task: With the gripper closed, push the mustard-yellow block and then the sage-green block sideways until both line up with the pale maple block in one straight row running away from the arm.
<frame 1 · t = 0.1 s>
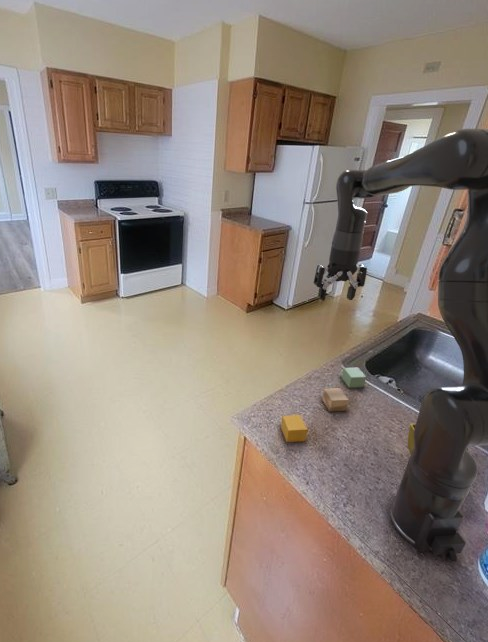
hand: (335, 299, 95), 29 cm above the worktop, tool pointing down, fingers open, 8 cm apart
flower pot: (427, 467, 77), on the worktop
sage block: (352, 382, 105), on the worktop
mustard block: (292, 433, 85), on the worktop
maple block: (333, 404, 95), on the worktop
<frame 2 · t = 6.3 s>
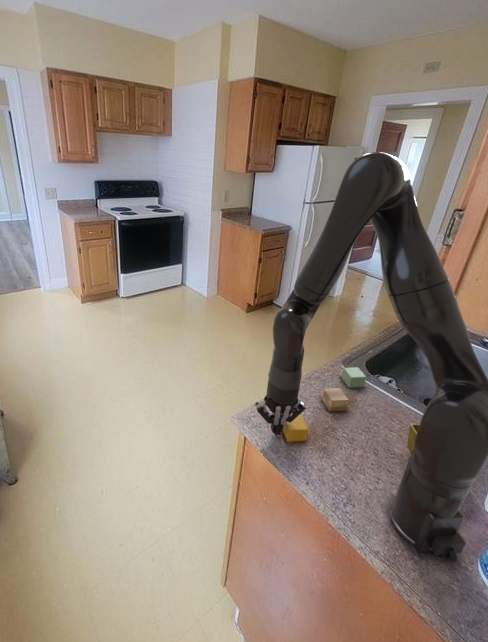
hand: (276, 432, 84), 1 cm above the worktop, tool pointing down, fingers closed
mustard block: (293, 433, 85), on the worktop, touching gripper
everything else where it was.
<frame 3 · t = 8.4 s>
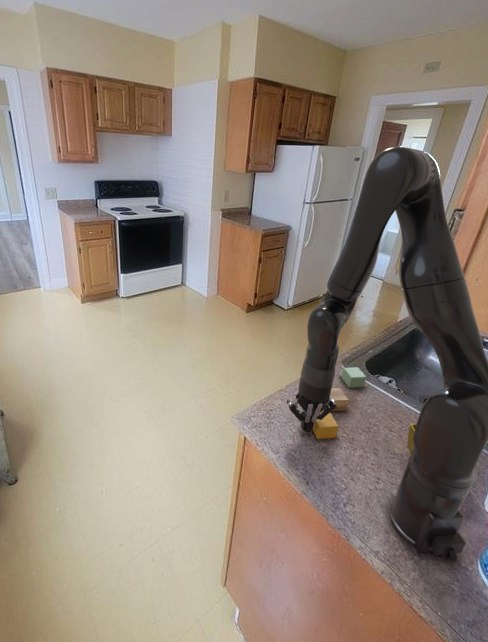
hand: (306, 429, 85), 1 cm above the worktop, tool pointing down, fingers closed
mustard block: (322, 430, 86), on the worktop, touching gripper
everything else where it was.
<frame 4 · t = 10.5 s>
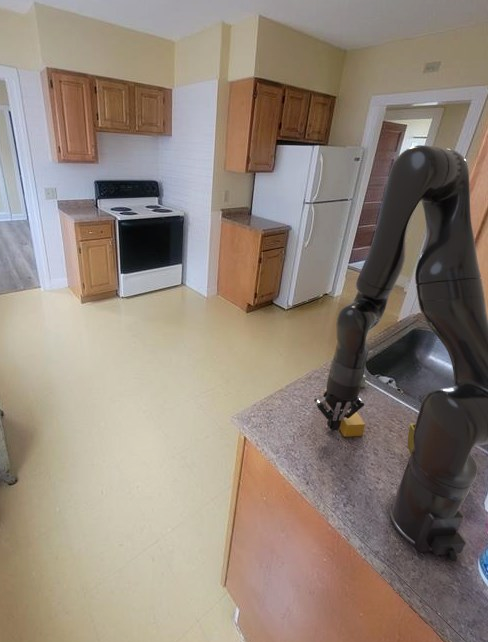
hand: (332, 428, 86), 1 cm above the worktop, tool pointing down, fingers closed
mustard block: (348, 428, 87), on the worktop, touching gripper
everything else where it was.
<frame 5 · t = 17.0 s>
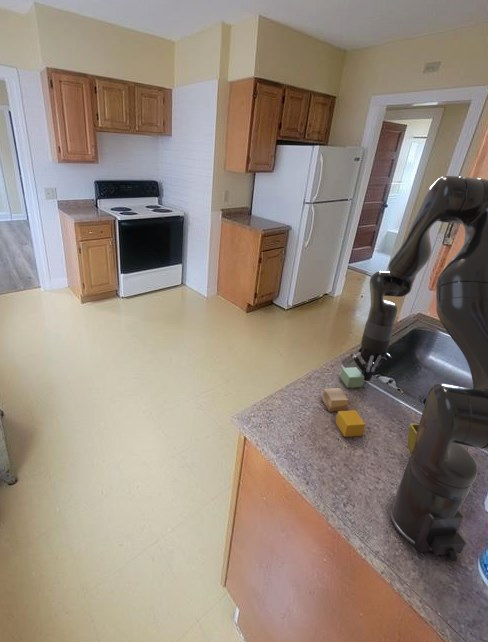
hand: (365, 379, 105), 1 cm above the worktop, tool pointing down, fingers closed
sage block: (350, 382, 105), on the worktop, touching gripper
mustard block: (348, 428, 87), on the worktop
everything else where it was.
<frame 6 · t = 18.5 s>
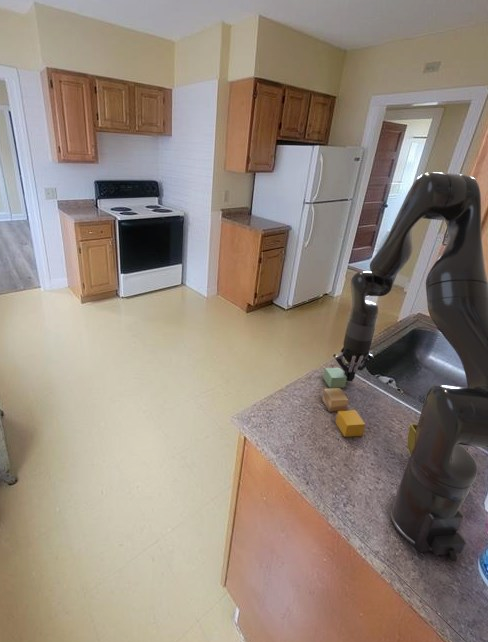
hand: (348, 379, 105), 1 cm above the worktop, tool pointing down, fingers closed
sage block: (333, 382, 105), on the worktop, touching gripper
everything else where it was.
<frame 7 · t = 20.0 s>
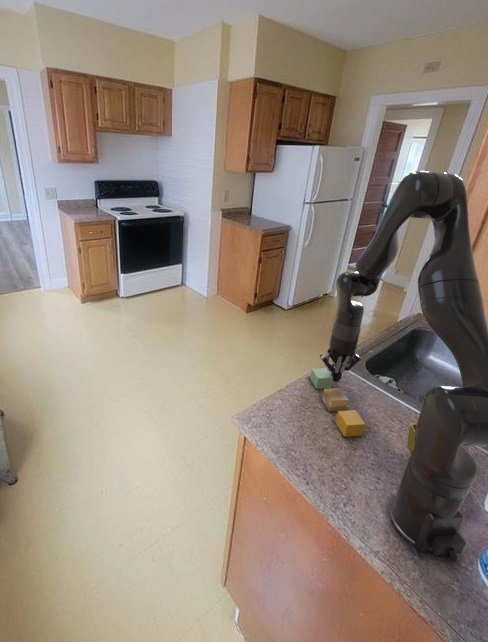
hand: (335, 380, 104), 1 cm above the worktop, tool pointing down, fingers closed
sage block: (320, 383, 104), on the worktop, touching gripper
everything else where it was.
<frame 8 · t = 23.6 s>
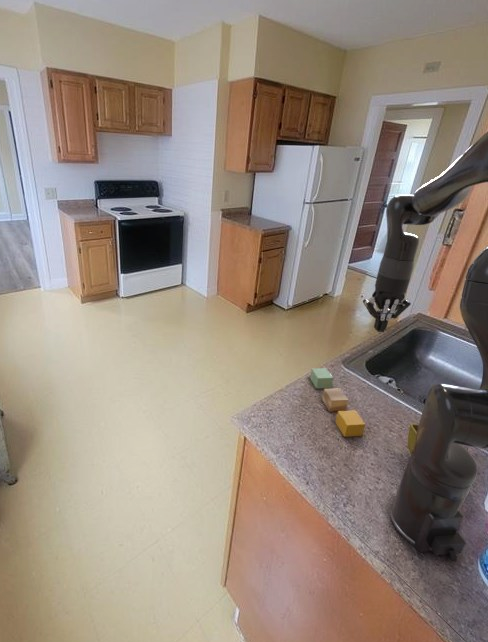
hand: (379, 330, 91), 23 cm above the worktop, tool pointing down, fingers closed
sage block: (320, 383, 104), on the worktop
everything else where it was.
at the end: mustard block 0.3 cm from the target spot, on the worktop; sage block 0.4 cm from the target spot, on the worktop; mustard block tilted 0° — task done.
